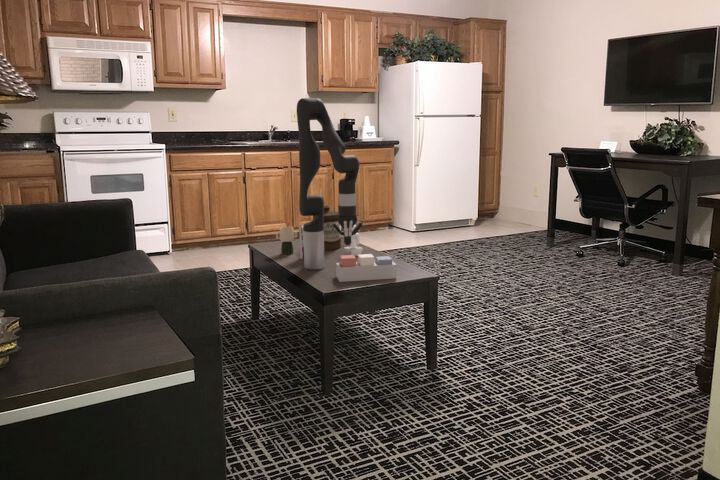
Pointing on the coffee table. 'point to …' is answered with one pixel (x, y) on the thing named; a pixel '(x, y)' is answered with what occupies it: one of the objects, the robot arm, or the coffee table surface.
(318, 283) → the coffee table surface
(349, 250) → the figurine
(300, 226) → the candy bar box
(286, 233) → the character mug
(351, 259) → the red key
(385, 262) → the blue key
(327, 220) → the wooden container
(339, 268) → the control box
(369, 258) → the cream white block
